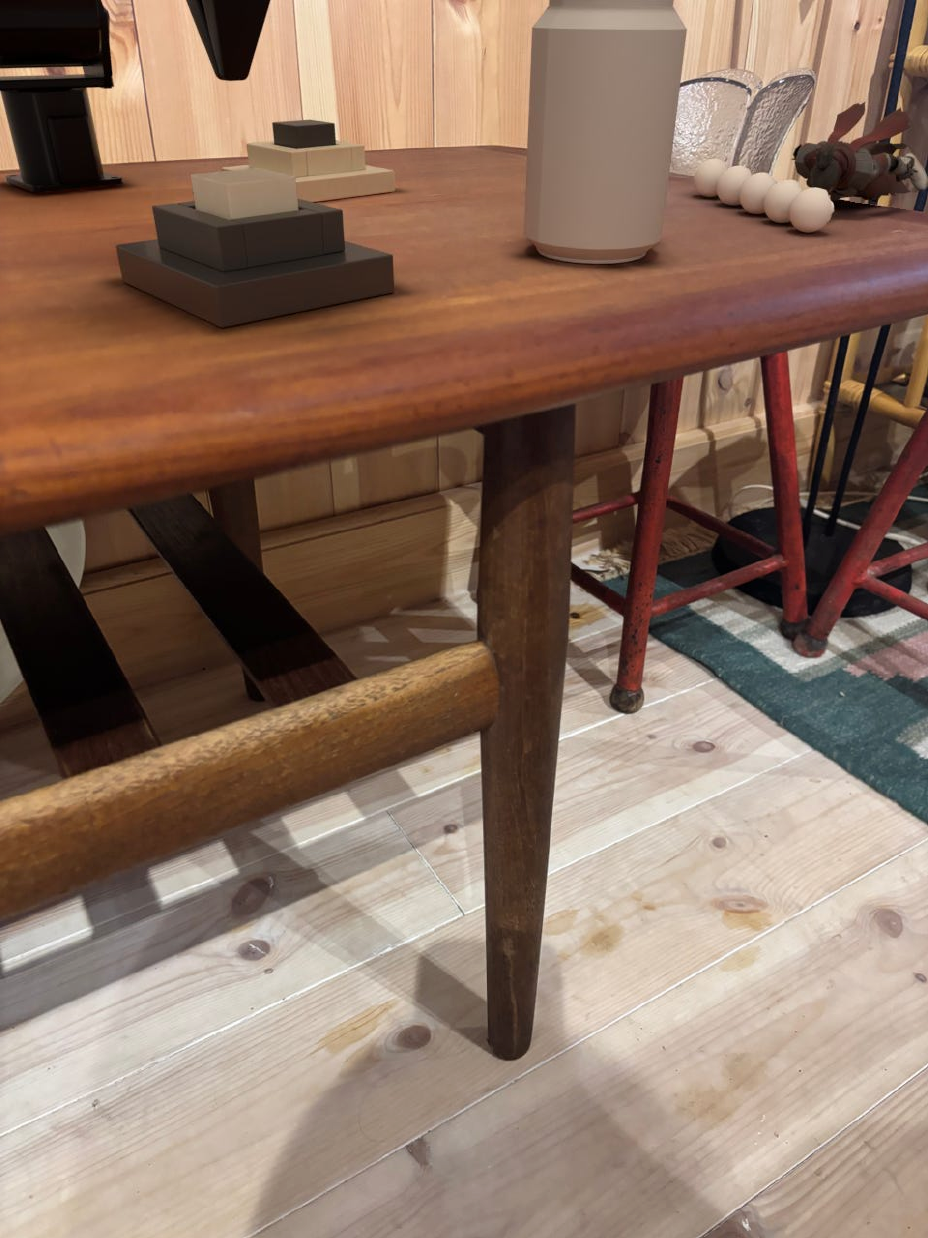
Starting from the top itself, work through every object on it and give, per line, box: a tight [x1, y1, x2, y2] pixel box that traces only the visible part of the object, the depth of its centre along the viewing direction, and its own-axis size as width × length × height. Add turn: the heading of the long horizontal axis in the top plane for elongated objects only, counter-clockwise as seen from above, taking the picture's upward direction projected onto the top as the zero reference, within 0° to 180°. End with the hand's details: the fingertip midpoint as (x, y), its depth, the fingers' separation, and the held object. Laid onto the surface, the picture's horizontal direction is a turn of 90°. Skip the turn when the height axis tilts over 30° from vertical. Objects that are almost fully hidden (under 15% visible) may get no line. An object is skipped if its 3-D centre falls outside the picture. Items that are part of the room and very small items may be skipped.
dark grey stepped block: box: [115, 199, 395, 329], centre depth 42 cm, size 10×9×4 cm
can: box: [523, 0, 688, 265], centre depth 46 cm, size 8×8×12 cm
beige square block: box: [190, 168, 298, 220], centre depth 41 cm, size 3×3×2 cm
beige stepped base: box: [220, 139, 396, 203], centre depth 65 cm, size 9×9×3 cm
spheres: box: [693, 158, 835, 233], centre depth 59 cm, size 15×2×2 cm, turn 14°
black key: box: [271, 119, 337, 149], centre depth 64 cm, size 3×3×2 cm
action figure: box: [790, 101, 928, 203], centre depth 60 cm, size 8×6×18 cm
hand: (232, 79), depth 38 cm, fingers closed
